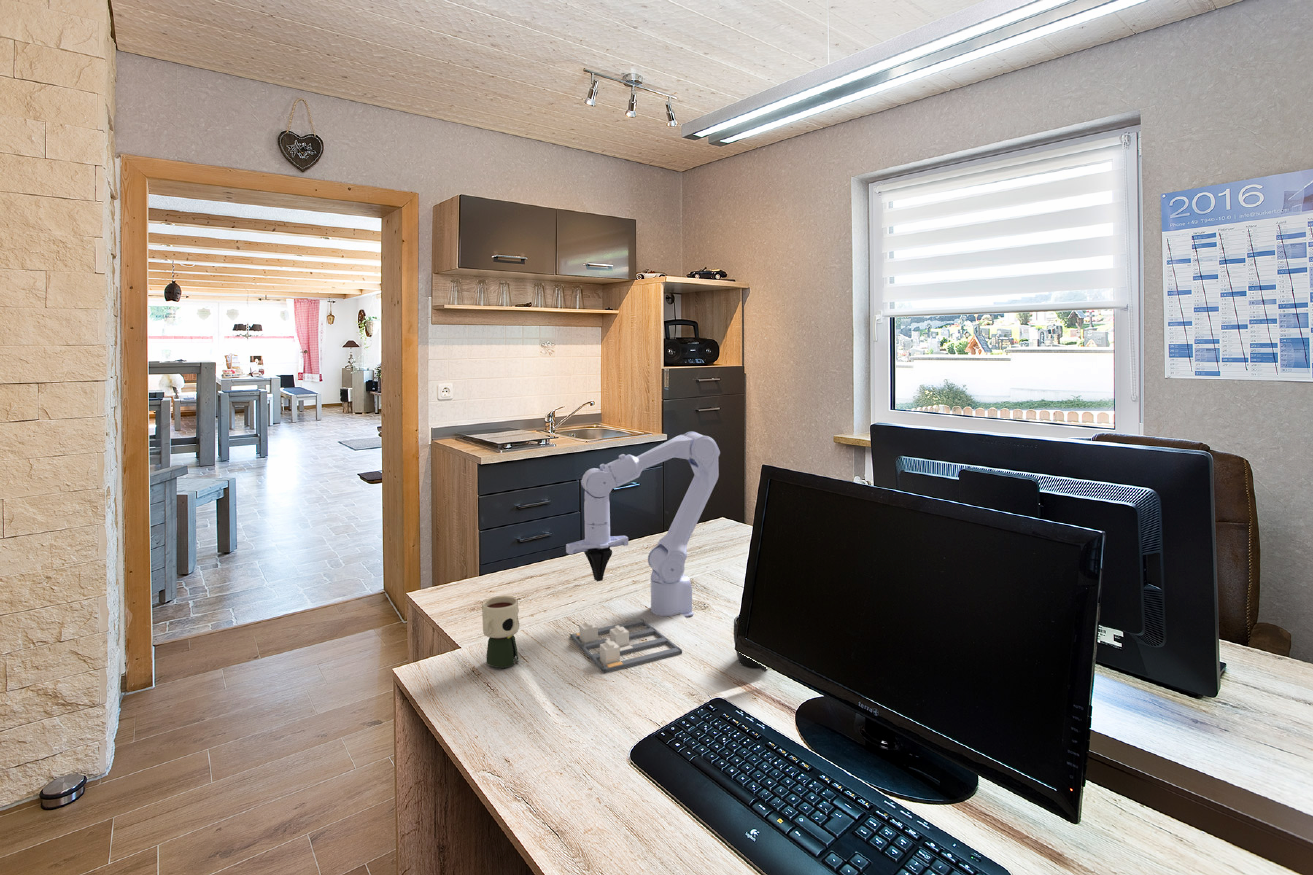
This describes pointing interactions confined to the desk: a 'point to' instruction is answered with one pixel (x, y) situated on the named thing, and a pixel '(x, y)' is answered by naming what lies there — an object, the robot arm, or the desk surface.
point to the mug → (743, 659)
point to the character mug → (501, 630)
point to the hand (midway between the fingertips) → (598, 579)
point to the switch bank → (630, 648)
